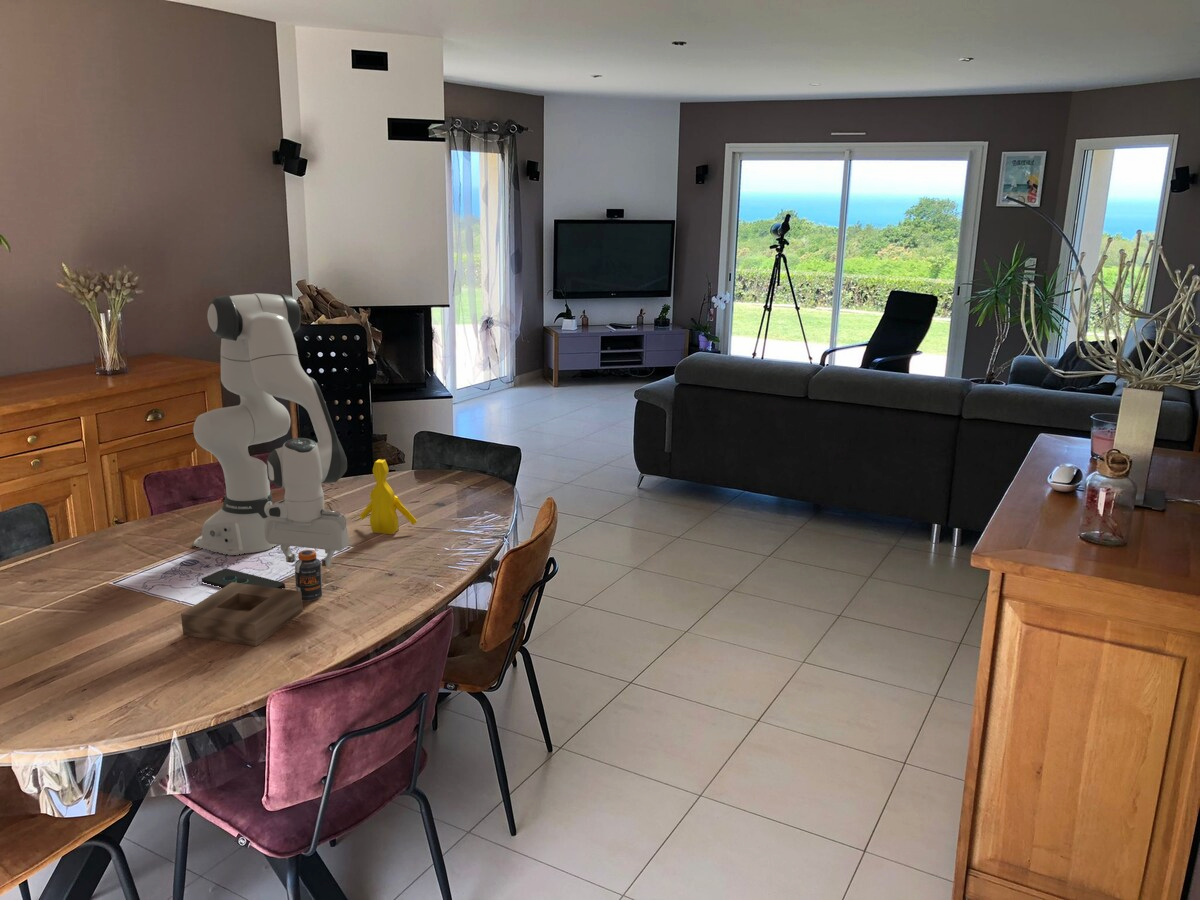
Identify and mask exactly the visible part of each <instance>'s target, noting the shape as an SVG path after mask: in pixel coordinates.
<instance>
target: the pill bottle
mask: <svg viewBox="0 0 1200 900" xmlns="http://www.w3.org/2000/svg"><path fill="white" fill-rule="evenodd" d="M294 574H295V576H294V577H295V591H301V593H302V602H303V601H305V602H306V601H307V602H309V601H315V600H319V598H321V597H322V596H323V586H322V585H323V583H322V580H323V579H322V561H320V559H319V558H317V552H316V550H313V549H304V550H300V551H299V552H298V559H297V560H296V561H295V564H294Z"/></svg>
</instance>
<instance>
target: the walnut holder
mask: <svg viewBox="0 0 1200 900" xmlns="http://www.w3.org/2000/svg"><path fill="white" fill-rule="evenodd" d="M302 612H303V600H302V593H301V591H296V590H292V589H286V588H284V589H279V588H272V587H264V586H257V585H250V584H242V583H235V582H232V583H230V584H229V585H227V586H225V587H224V588H222V589H221V588H220V589H219V590H217V591H216V592H214V593H213V594H210V595H209V596H208V597H206V598H204V599H203V600H201V601H200V602H198V603H196V604H195V605H193V606H192V607H190V608H188V609H187V610H185V611H183V612H181V613H180V616H181V617H180V619H181V626H182V627H181V629H182V635H183V636H186V635H188V636H187V637H192V636H193V637H194V638H195V637H196V638H200V639H206V640H213V641H219V642H227V643H234V644H241V645H245V646H246V645H247V646H252V647H257V646H259V645H261V644H262V643H263V642H265V641H266V640H267V639H268V638H269V637H271V636H272V635H273V634H275V633H277V631H279V630H280V629H281V628H283V627H284V626H285V625H287V624H288V623H289V622H291V621H293V619H295V618H296V617H297V616H299V615H301V614H302Z"/></svg>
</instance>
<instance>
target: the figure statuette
mask: <svg viewBox="0 0 1200 900" xmlns="http://www.w3.org/2000/svg"><path fill="white" fill-rule="evenodd" d="M389 470H390V469H389V466H388V464H387V461H386V459H377V460H376V461H374V464H373V467H372V474H373V477H374V479H375V481H376V484H375V486H374V487H373V488H372V490H371V491H370V493H369V498H370V502H369V504H368V505H367V506H366V507H365V509H364V510H363V511H362V512H361V514H360V515H359V518H360V519H361V520H364V519H365V518H366V517H367V516H368V515H370V517H369V524H370V528H371V531H372V532H373V533H374V534H383V535H384V534H385V535H394V534H395V533H396V532H398V531H399V530H400V528H399V518H398V514H397V511H399V512H400V513H401V514H402V515H403V516H404V517H405V518H406V520H408V521H409V523H411V525H413V526H414V525H415V524H416V523H418V520H417V519H416V518H415V516H414V515H413V514H412V513H411V512H410V511H409V509H407V508H406V507H405V505H404V504H403V503H402V502H401V500H400V498H399V497H398V496H397V495H395V492H394V490H393V489H392V487H391V486H390V485H389V483H388V481H387V477H388V474H389Z"/></svg>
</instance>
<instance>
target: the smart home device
mask: <svg viewBox="0 0 1200 900" xmlns="http://www.w3.org/2000/svg"><path fill="white" fill-rule="evenodd" d="M202 582H204V583H207V584H211V585H214V586H219V587H221V588H224V587H225V586H227V585H229V584H230V583H232V582H235V583H242V584H250V585H257V586H264V587H272V588H279V589H282V588H284V589H286V585H285V582H283V581H279V580H276V579H270V578H266V577H263V576H258V575H254V574H250V573H247V572H242V571H239V570H234V569H230V568H222V569H220V570H218V571H215V572H213V573H211V574H208V575H206V576H203V577H202V578H201V583H202ZM221 588H220V589H221Z"/></svg>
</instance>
